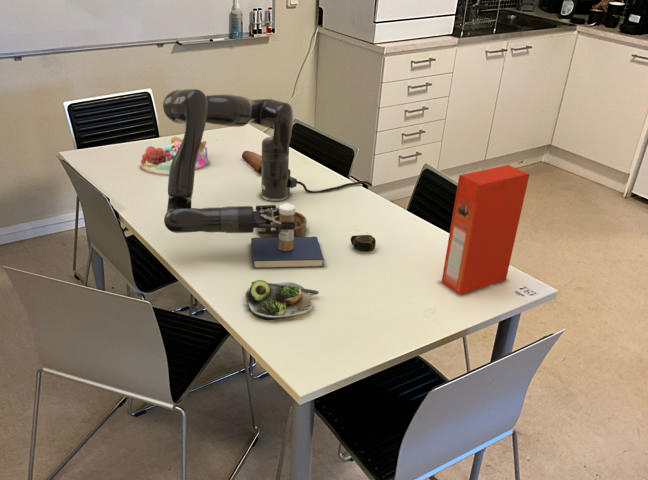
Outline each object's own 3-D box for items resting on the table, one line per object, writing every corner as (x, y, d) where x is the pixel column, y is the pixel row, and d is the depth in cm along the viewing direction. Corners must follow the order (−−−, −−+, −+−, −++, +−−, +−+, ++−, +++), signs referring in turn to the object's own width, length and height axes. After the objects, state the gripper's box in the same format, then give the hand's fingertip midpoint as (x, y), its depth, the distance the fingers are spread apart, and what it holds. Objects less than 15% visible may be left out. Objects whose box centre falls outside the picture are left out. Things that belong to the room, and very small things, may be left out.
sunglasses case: (279, 171, 252) (271, 158, 248) (264, 182, 252) (255, 169, 247) (261, 156, 266) (253, 142, 261) (247, 166, 265) (238, 153, 261)
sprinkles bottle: (275, 248, 195) (275, 206, 188) (285, 243, 198) (286, 201, 191) (286, 253, 192) (287, 211, 185) (297, 248, 195) (298, 206, 188)
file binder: (440, 282, 187) (459, 174, 170) (485, 268, 195) (507, 164, 178) (460, 295, 182) (481, 185, 165) (505, 280, 189) (530, 174, 173)
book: (251, 245, 201) (251, 237, 200) (316, 244, 204) (317, 236, 202) (253, 268, 190) (253, 260, 188) (323, 267, 192) (323, 259, 191)
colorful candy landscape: (157, 150, 268) (155, 127, 263) (214, 155, 266) (213, 132, 261) (135, 172, 247) (133, 148, 242) (197, 178, 245) (196, 154, 240)
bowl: (282, 216, 220) (282, 205, 218) (315, 232, 211) (316, 221, 209) (247, 229, 210) (247, 218, 208) (280, 247, 201) (280, 235, 199)
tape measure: (371, 243, 206) (372, 232, 204) (377, 254, 200) (378, 242, 198) (350, 244, 205) (350, 233, 203) (355, 255, 199) (356, 243, 197)
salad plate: (311, 282, 184) (312, 267, 182) (327, 317, 170) (328, 302, 167) (241, 288, 180) (241, 273, 178) (252, 324, 166) (252, 309, 163)
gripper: (237, 218, 180) (296, 217, 182) (235, 197, 192) (291, 196, 194) (237, 243, 184) (295, 242, 186) (235, 220, 196) (290, 220, 198)
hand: (293, 218), depth 190 cm, fingers open, 8 cm apart
